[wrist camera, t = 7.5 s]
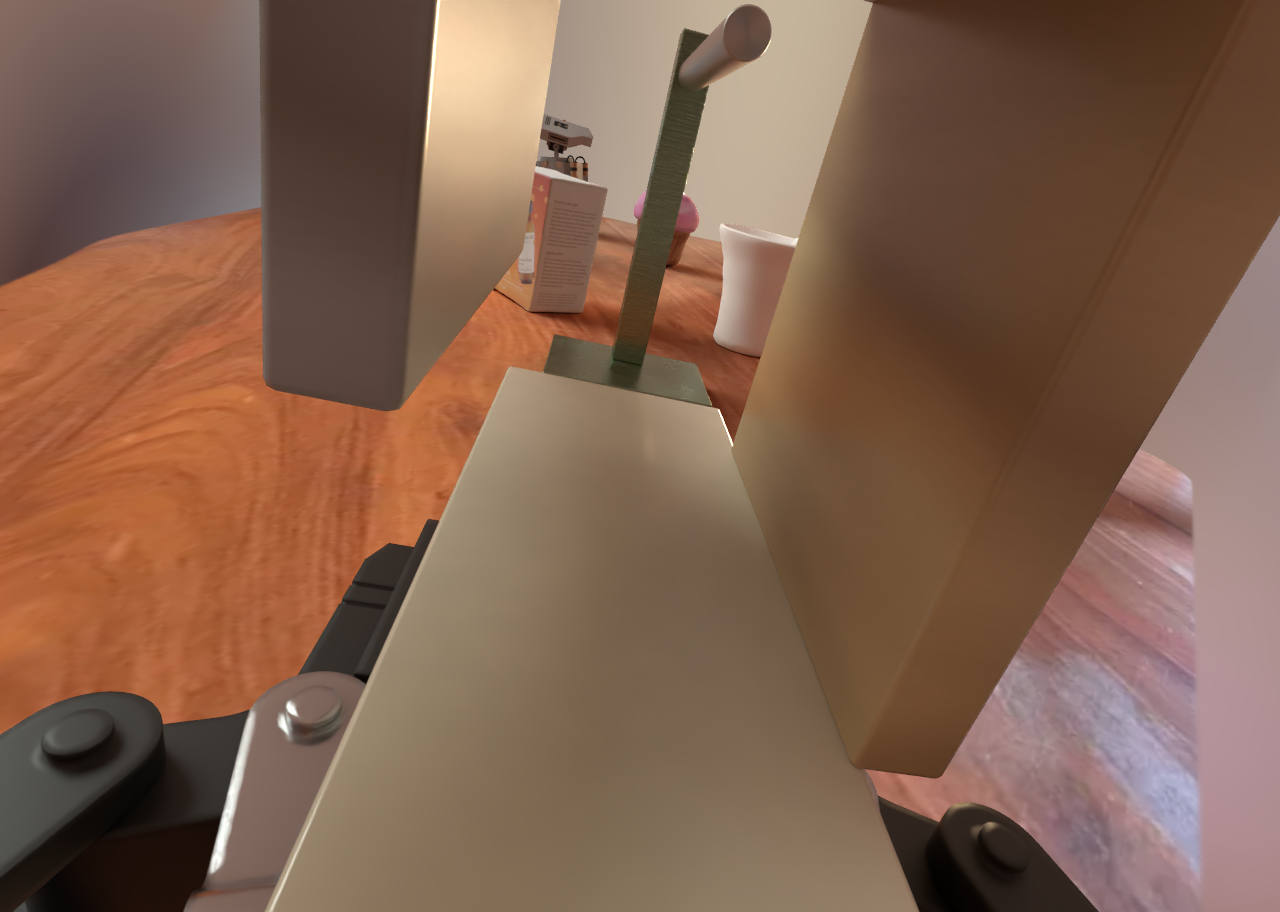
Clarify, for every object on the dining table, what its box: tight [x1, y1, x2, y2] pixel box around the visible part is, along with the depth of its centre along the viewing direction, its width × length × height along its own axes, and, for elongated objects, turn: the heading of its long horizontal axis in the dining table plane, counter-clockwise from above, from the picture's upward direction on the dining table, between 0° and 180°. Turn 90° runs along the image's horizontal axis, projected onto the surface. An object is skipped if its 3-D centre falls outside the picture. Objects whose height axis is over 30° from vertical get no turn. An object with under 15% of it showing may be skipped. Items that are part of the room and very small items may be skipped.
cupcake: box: [634, 190, 699, 266], centre depth 91 cm, size 9×9×10 cm
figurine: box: [536, 114, 593, 182], centre depth 100 cm, size 9×12×15 cm
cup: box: [713, 223, 799, 357], centre depth 58 cm, size 9×9×10 cm
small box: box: [495, 166, 607, 313], centre depth 56 cm, size 8×6×10 cm
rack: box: [543, 4, 771, 407], centre depth 33 cm, size 10×19×20 cm, turn 2°
